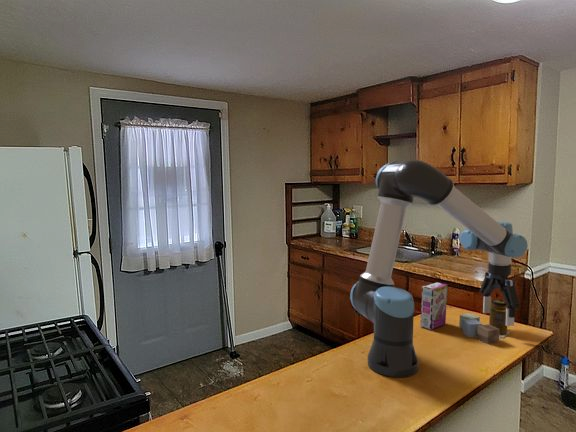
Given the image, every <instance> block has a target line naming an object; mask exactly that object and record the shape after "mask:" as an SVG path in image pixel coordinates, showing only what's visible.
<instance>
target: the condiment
mask: <svg viewBox="0 0 576 432" xmlns="http://www.w3.org/2000/svg"><path fill="white" fill-rule="evenodd" d="M507 307H508V306H507V303H506V301H505V300H502V299H491V307H490V313H489V322H488V324H489V325H491V326H494V327H496V328H498V329H500V335H499V338H502V339H504V338H505V337H507V336H508V335H509V334H510V333H511V331H509V330H508V326H506V308H507Z"/></svg>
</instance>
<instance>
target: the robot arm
mask: <svg viewBox="0 0 576 432" xmlns="http://www.w3.org/2000/svg"><path fill="white" fill-rule="evenodd" d="M375 186H376V188H377V190H378V192H377V197H376V198H377V199H378V201H379V202H380V206H379V209H378V210H379V211H378V214H377V217H376V218H377V219H376V224H375V228H374V233H373V235H372V236H373V238H372V241H371V246H370V251H369V255H368V260H367V264H366V268H365V271H364V272H363V273H361V274H360V275H359V279H358V281H357V282H356V283H354V284H353V285H352V287H351V290H350V295H349V298H350V302H351V305H352V307H353V308H354V309H355V311H357V313H358V314H359V315H361V316H363V317H365V318H366V319H367V320H369V321H370V322H371V323H373V340H372V343H371V346H370V348H369V351H368V354H367V365H368V367H369V368H370V369H371V370H372V371H373V372H375V373H378V374H379V375H383V376H386V377H391V378H406V377H410V376H413V375H416V373H418V371H419V359H418V357H417V356H418V355H417V353H416V349H415V345H414V317H415V315H414V314H415V302H414V298H413V296H412V294H411V293H410V292H409V291H407V290H405V289H403V288H397V287H396V286H395V282H394V280H393V279H392V274H393V269H394V265H395V261H396V257H397V256H396V255H397V252H398V248H399V247H398V246H399V242H400V238H401V233H402V229H403V225H404V220H405V216H406V211H407V209H408V208H409V207H410V206H412V205H413V202H414V198H418V199H421V200H423V201H424V202H427V203H428V204H429V205H431V206H437V207H438V208H440V209H441V210H443V211H444V213H447V214H448V216H449V217H451V218H453V219H454V220H456V222H458V223H459V224H461V226H464V228H466V229H465V230H463V231H462V232H461V234H460V238H459V240H460V244H461V246H462V248H463V249H464V250H467V251H476V250H477V251H483V252H487V253H488V262H489V263H488V265H487V271H486V272H485V274H484V278H483V281H482V283H481V286H480V289H479V294H482V298H483V299H482V303H483V306H482V313H483V314H490V307H491V304H492V302H491V301H492V293H493V291H494V290H495V289H498V290H499V291H500V292H501V293H502V296H503V299H504V301H506V303H507V308H506V326H507V327H512V326H515V317H516V310H517V309H520V308H521V304H520V301H519V297H518V293H517V290H516V289H517V288H516V283H515V280H514V279H509V276H510V275H512V265H511V264H512V258H517V259H518V258H521V257H522V256H524V255H525V254H526V252H527V251H528V241H527V239H526V237H524V236H523V235H519V234H518V233H513V230H514V229H513V224H512V223H511V222H508V221H507V222H505V221H497V220H496V219H494V218H493V217H492V216H490V215H489V214H488V213H487V212H486V211H484V210H483V208H481V207H480V206H479V205H477V204H476V203H474V202H473V201H472V200H471V199H470V198H469V197H467V196H466V195H465V194H463V193H462V192H461V191H460V190H459V189H457V188H456V187H455V184H454V181H453V180H452V179H450V177H448V176H447V175H446V174H444V173H443V172H442V171H440V170H439V169H437V168H436V167H434V166H433V165H431V164H430V163H428V162H425V161H423V160H419V159H412V160H411V159H409V160H402V161H401V160H400V161H399V160H396V161H391V162H389V163H388V162H387V163H386V164H385V165H382V166H381V167H380V168H379V170H378V171H377V174H376V176H375Z"/></svg>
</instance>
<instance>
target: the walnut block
mask: <svg viewBox="0 0 576 432" xmlns="http://www.w3.org/2000/svg"><path fill="white" fill-rule="evenodd" d="M499 335H500V329H498V328H496V327H494V326H491V325H489V323H488V324H482V325H479V326H477V337H476V339H477V340H478V341H481V342H482V343H484V344H486V345H492V344H498V343H499V344H500V337H499Z"/></svg>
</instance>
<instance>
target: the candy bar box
mask: <svg viewBox="0 0 576 432" xmlns="http://www.w3.org/2000/svg"><path fill="white" fill-rule="evenodd" d="M421 288H422V289H421V303H420V304H421V306H420V311H421V312H420V327H419V328H423V329H424V330H425V329H426V330H428V331H432V330H435V329H436V328H439V327H442V326H444V325H446V320H447V319H446V318H447V298H448V284H447V283H442V282H434V283H430V284H427V285H422V286H421Z"/></svg>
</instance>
